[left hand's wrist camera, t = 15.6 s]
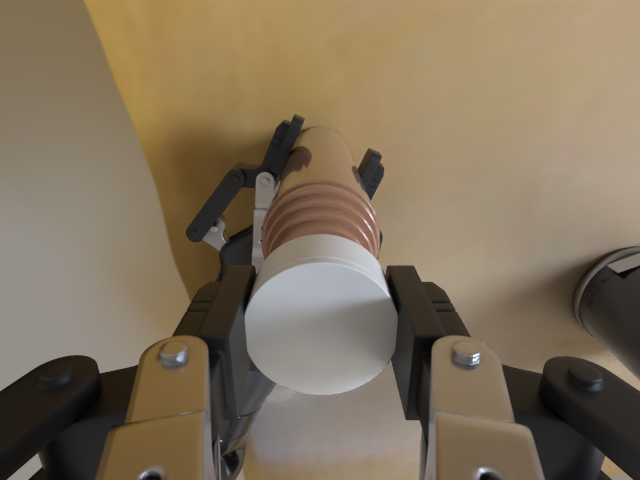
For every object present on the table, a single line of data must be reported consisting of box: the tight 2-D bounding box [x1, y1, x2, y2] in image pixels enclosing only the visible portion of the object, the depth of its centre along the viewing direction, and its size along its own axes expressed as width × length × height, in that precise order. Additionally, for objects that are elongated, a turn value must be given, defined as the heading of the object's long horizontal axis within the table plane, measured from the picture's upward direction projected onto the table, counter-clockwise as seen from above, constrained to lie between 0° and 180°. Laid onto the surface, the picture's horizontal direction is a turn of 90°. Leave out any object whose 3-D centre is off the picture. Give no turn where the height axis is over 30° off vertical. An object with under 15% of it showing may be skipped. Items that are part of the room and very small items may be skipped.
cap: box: [244, 234, 398, 395], centre depth 11 cm, size 4×4×2 cm
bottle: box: [261, 127, 380, 260], centre depth 22 cm, size 5×5×24 cm
